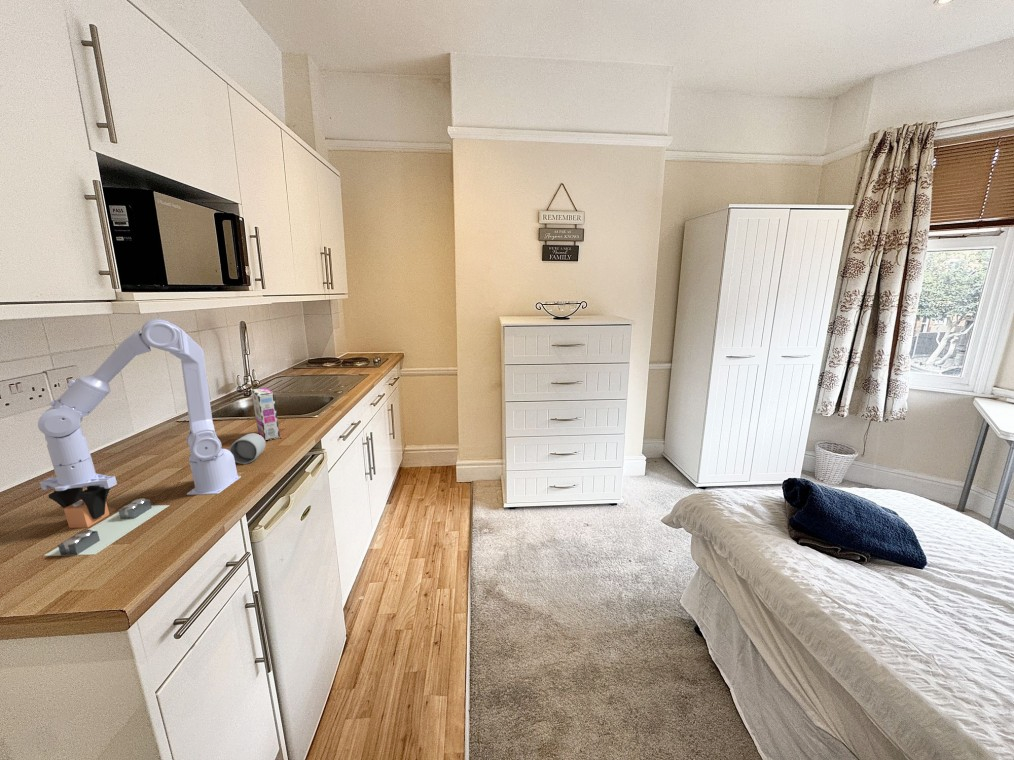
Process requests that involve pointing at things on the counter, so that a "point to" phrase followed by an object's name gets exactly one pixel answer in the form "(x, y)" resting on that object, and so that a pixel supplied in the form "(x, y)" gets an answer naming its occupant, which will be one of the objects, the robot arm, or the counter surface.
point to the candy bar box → (265, 413)
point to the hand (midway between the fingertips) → (88, 516)
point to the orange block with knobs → (81, 515)
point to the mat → (114, 530)
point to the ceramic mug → (247, 448)
